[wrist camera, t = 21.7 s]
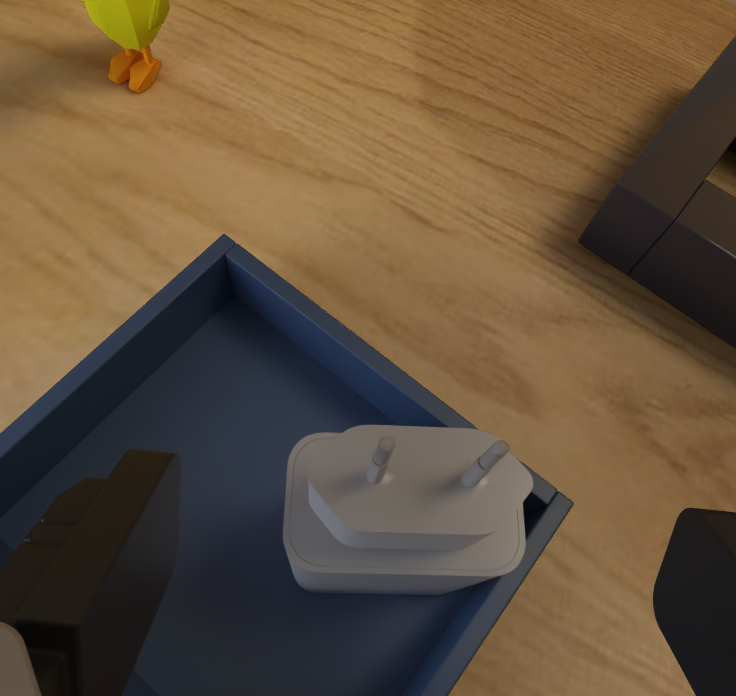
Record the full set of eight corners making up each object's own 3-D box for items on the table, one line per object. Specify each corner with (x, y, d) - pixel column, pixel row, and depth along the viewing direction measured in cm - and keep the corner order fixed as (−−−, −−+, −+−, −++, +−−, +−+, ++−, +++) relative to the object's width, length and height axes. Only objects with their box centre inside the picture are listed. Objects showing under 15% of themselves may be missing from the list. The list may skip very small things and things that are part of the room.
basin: (535, 522, 23) (575, 502, 19) (304, 864, 18) (302, 916, 15) (235, 287, 26) (223, 232, 22) (-27, 534, 21) (-92, 514, 18)
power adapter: (460, 595, 21) (624, 551, 10) (290, 592, 21) (265, 541, 10) (457, 497, 22) (598, 362, 11) (296, 492, 22) (280, 347, 11)
